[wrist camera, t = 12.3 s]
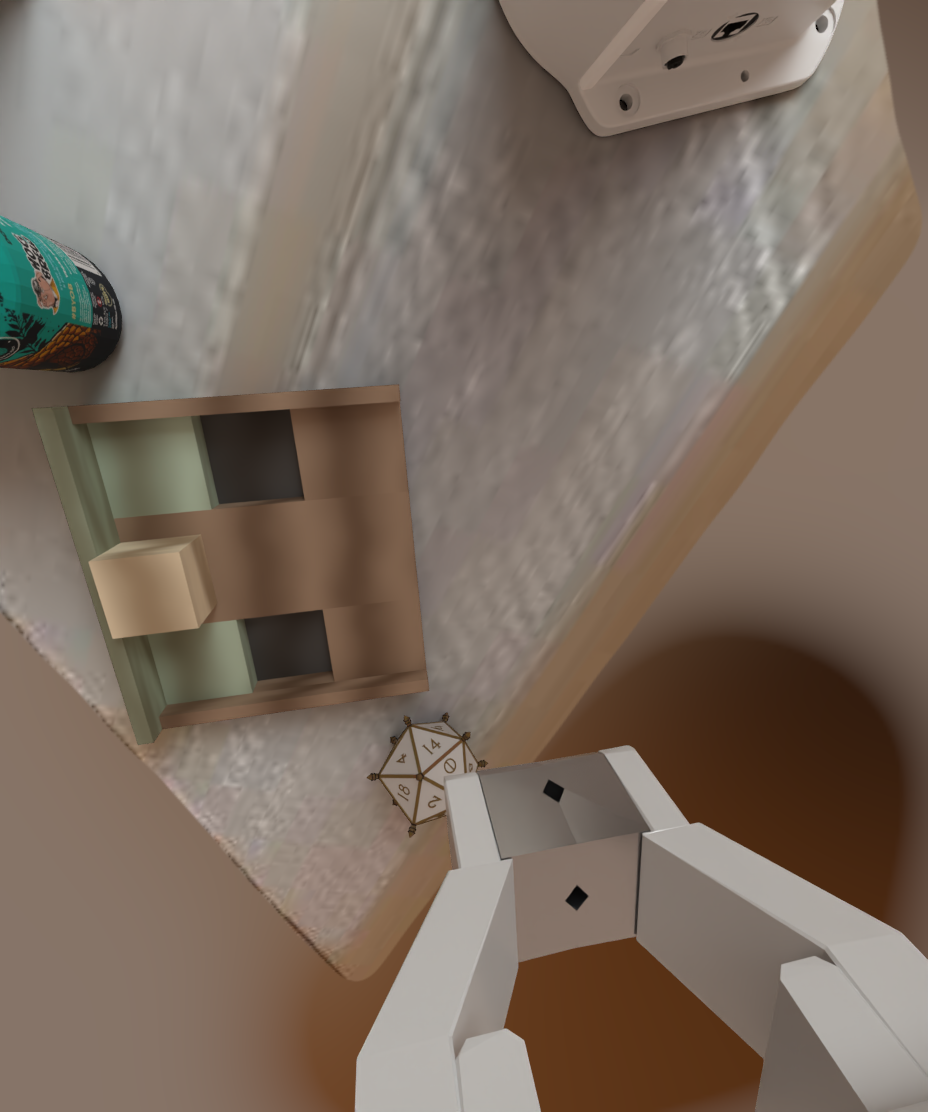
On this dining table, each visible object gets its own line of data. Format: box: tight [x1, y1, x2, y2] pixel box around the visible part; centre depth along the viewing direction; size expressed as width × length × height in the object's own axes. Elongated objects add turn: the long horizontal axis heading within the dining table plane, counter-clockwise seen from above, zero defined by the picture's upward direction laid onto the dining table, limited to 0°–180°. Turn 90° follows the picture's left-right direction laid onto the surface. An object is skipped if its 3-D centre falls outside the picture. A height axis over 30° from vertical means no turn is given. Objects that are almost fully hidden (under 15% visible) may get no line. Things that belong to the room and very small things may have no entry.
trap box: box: [32, 385, 429, 745], centre depth 35 cm, size 20×22×5 cm
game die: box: [367, 713, 488, 837], centre depth 41 cm, size 9×8×10 cm
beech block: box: [88, 535, 217, 639], centre depth 33 cm, size 5×5×4 cm
